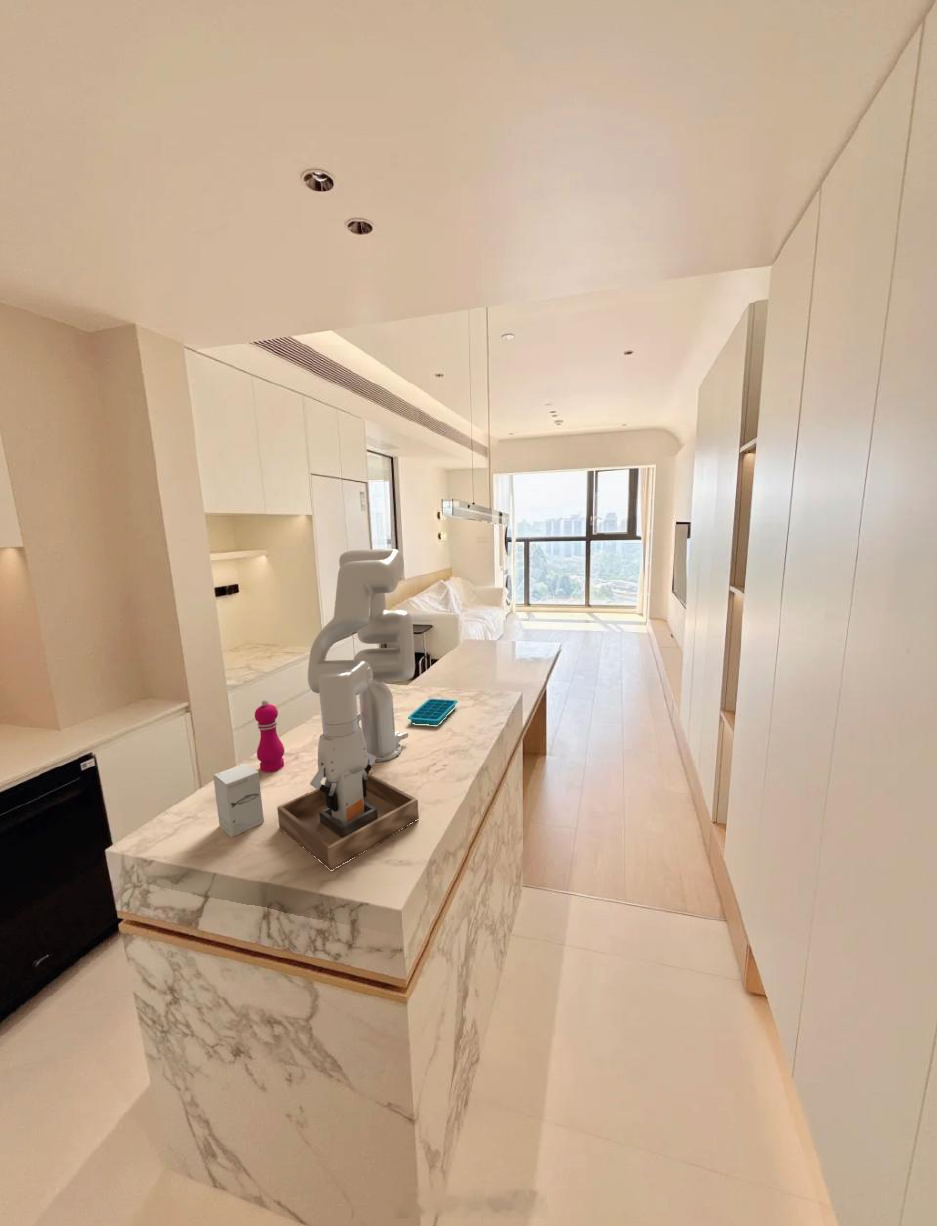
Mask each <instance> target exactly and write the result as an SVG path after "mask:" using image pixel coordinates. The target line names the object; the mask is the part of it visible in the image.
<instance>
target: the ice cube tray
mask: <svg viewBox="0 0 937 1226" xmlns="http://www.w3.org/2000/svg"><path fill="white" fill-rule="evenodd" d="M457 703H458V700H456V699H446V698H445V699H443V698H428V699H427V700H425V702H423V703H422V704H421V705H420V706H419V707H418V708H417V709H415V710H414V711H413V712H412V713H410V715H409V716H407V719H408V720H410V722H411V723H415V724H429V725H438V724H439V723H440V722H441V721H442V720H443V719H444V718H445V717H446V715H447V714H448V713H449V712H450V711H451V710H452V709H453V708H454V707H455V708H456V705H457Z"/></svg>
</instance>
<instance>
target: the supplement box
mask: <svg viewBox="0 0 937 1226" xmlns="http://www.w3.org/2000/svg"><path fill="white" fill-rule="evenodd" d="M259 774H260V773H259V771H258V770H256V769H255V768H253V767H252V766H251V765H249V764H248V763H246V762H245V763H242V764H240V765H236V766H234V767H231V768H228V769H226V770H225V769H224V770H223V771H220V772H218V773H214V774H213V776H212V777H213V784H214V792H215V801H216V808H217V817H218V824H219V825H218V826H220V827H221V828H222V830H223V831H225V832H226V833H227V835H228V836H230V838H234V837H235V836H237V835H239V834H242V833H243V832H247V831H249V830H250V829H253V828H254V827H257V826H259V825H261V824H262V825H263V824H264V822H265V817H264V811H263V802H262V801H263V800H262V795H261V794H262V792H261V791H262V790H261V784H260V775H259ZM233 836H234V837H233Z"/></svg>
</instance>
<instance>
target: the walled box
mask: <svg viewBox="0 0 937 1226" xmlns="http://www.w3.org/2000/svg"><path fill="white" fill-rule="evenodd" d="M366 785H367V790H366V794H367V796H366V797H363V800H364V813H363V814H361V815H360V816H358V817H356V818H354V819H352V820H350V821H348V822H346V823H345V824H341V823H340V822H338V821H337V820H335V819H334V818H333V817H332V810H331V809H330V808H328V807H327V804H326V793H324V792H322V791H320V790H318V789H317V788H315V789H314V790H311V791H310V792H308V793H306V794H303V795H301V796H299V797H296V798H295V799H292V800H290V801H287V802H286V803H282V804H281V805H279V806H276V809H277V816H278V817H277V818H278V825H279V826H278V827H279V829H280V830H281V831H283V832H284V833H285V834H286V835H287V836H289V837H290V838H291V839H292V840H293V841H295V842H296V843H297V844H298V843H299V844H300V845H301V846H302V847H301V846H300V845H299V844H298V845H299V846H300V847H301V848H303V847H304V848H305V849H306V850H307V851H308V852H307V851H306V850H305V849H304V848H303V849H304V850H305V851H306V852H307V853H309V852H310V853H311V854H312V855H313V856H315V857H316V858H317V859H319V860H320V861H321V862H322V863H323V864H324V865H326V866H327V867H328V868H329V869H330V870H333V869H335V868H336V867H338V866H340V865H342V864H343V863H345V862H347V861H349V860H350V859H352V858H354V857H356V856H358V855H359V854H361V853H363V852H364V851H366V850H368V849H370V848H371V849H373V848H374V847H373V846H375V845H376V844H378V843H380V844H381V843H382V842H383V843H384V842H385V841H386V840H388V839H390V838H391V837H393V836H394V835H393V834H395V833H396V832H398V831H399V830H401V829H402V828H404V827H406V826H407V825H409V824H410V823H412V822H414V821H415V820H417V819H419V820H420V818H419V803H418V801H419V800H418V799H417V798H416V797H414V796H412V795H410V794H408V793H406V792H405V791H403V790H401V789H399V788H397V787H395V786H393V785H391V784H389V783H387V782H385V781H384V780H382V779H380V778H378V777H377V776H374V775H372V774H370V773H369V774H368V779H367V780H366ZM329 788H330V787H329ZM406 828H407V827H406ZM401 831H402V830H401ZM398 833H399V832H398ZM396 834H397V833H396ZM396 834H395V835H396ZM392 835H393V836H392ZM390 836H391V837H390ZM389 837H390V838H389ZM387 838H388V839H387ZM385 839H386V840H385ZM384 840H385V841H384ZM378 845H379V844H378ZM376 846H377V845H376ZM376 846H375V847H376ZM372 847H373V848H372ZM371 849H370V850H371ZM368 851H369V850H368ZM366 852H367V851H366ZM310 853H309V854H310ZM311 854H310V855H311ZM363 854H364V853H363ZM312 855H311V856H312ZM361 855H362V854H361ZM313 856H312V857H313ZM358 857H359V856H358ZM316 858H315V859H316ZM356 858H357V857H356ZM317 859H316V860H317ZM323 864H322V865H323ZM324 865H323V866H324ZM330 870H329V871H330Z"/></svg>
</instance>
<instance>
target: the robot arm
mask: <svg viewBox="0 0 937 1226" xmlns="http://www.w3.org/2000/svg"><path fill="white" fill-rule="evenodd" d="M338 561H339V562H338V563H339V569H338V572H337V581H336V582H337V583H336V588H335V589H336V592H335V601H334V613H333V617H332V618H331V619H330V621H329V622H328V623H327V624H326V625H325V626H324V627H323V628H322V629H321V630H320V632H319V633H318V635H317V636H316V637H315V639H314V640H313V643H312V646H311V648H310V651H309V652H310V653H309V659H308V667H307V682H308V683H307V684H308V687H309V689H310V690H311V691H312V692H314V693H316V694H318V696H319V706H320V714H321V716H320V717H321V723H322V724H321V725H322V732H323V733H322V734H320V735H319V738H318V739H319V740H318V745H317V768H318V769H317V772H316V774H315V775H314V777H313V778H312V780H311V781H310V783H309V784H310V785H311V786H312V787H314V788H315V789H318V790H320V791H322V792H324V793H326V804H327V807H328V808H330V809H331V810H333V811H334V812H337V811H338V801H337V794H335V793H334V792H335V789H336V785H337V782H338V781H340V775H341V774H343V773H345V772H350V773H352V774H355V773H358V772H360V771H362V785H363V797H366V796H367V794H366V790H367V785H366V780H367V779H368V774H370V772H371V771H372V768H373V766H374V763H381V762H386V761H389V760H392V759H394V758H396V757H398V756H399V755H400V754H401V752H402V745H401V744H400V742H401V741H402V740H404V739H407V738H409V732H408V731H404V732H401V733H400V732H399V731H396V728H395V727H396V726H395V714H394V713H395V712H394V701H393V700H394V698H393V693H392V691H391V689H390V688H389V686H388V685H387V684H386V683H385V682H401V681H402V682H403V681H409V680H411V679H413V677H414V675H415V671H416V660H415V659H416V657H415V640H414V639H415V637H414V636H415V635H414V625H413V620H412V617H411V615H410V613H409V612H408V611H406V610H402V609H396V610H395V609H393V610H388V609H387V608H386V607H387V605H386V594H391V593H393V592H394V591H395V590H396V589H397V587H398V585H399V582H400V580H401V578H402V575H403V572H404V567H405V565H404V558H403V556H402V553H401V551H399V550H398V549H397V548H395V549H394V548H374V549H373V548H371V549H354V550H349V551H345V552H343V553H342V554H340V556H339V560H338ZM355 632H356V633H357V639H358V640H359V641H360V642H361V643H363V644H365V645H366V644H367V645H368V644H369V645H380V644H383V645H384V644H385V645H386V644H395V645H396V646H397V647H379V648H366V649H362V650H360V651H358V652H356V653H355V655H354V657H353V659H347V660H346V659H339V660H338V659H336V660H335V659H334V660H326V658H327V655H328V652H329V651H330V649H331V647H333V645H335V644H336V643H337V642H339V641H340V640H342V639H344V638H345V637H347V636H349V635H351V634H353V633H355ZM357 696H358V698H359V699H358V700H359V709H360V710H359V711H360V713H358V702H357ZM360 723H361V724H360ZM360 725H361V726H360ZM399 753H400V754H399ZM397 755H398V756H397ZM324 778H325V780H324V784H322V783H321V782H322V780H323V779H324ZM329 787H330V788H329Z"/></svg>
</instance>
